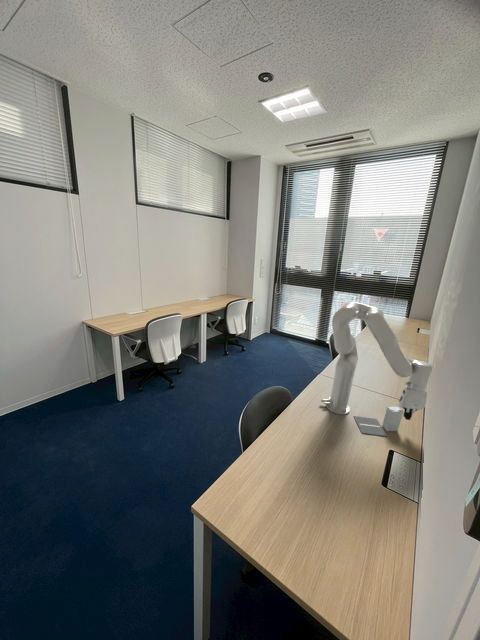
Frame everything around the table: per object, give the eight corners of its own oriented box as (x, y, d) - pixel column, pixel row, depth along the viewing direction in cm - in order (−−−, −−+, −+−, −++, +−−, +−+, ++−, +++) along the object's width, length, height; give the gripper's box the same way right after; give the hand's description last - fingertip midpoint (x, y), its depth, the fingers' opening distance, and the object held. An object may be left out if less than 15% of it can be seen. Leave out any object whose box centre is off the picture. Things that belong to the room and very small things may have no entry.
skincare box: (392, 425, 136) (398, 405, 132) (398, 431, 132) (404, 411, 128) (381, 425, 135) (386, 405, 132) (386, 432, 131) (392, 411, 127)
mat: (361, 433, 129) (361, 432, 128) (353, 416, 141) (353, 415, 141) (386, 436, 128) (387, 435, 127) (376, 419, 140) (376, 418, 140)
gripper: (404, 388, 122) (394, 421, 128) (437, 392, 121) (426, 425, 126) (396, 380, 129) (387, 411, 135) (428, 383, 128) (418, 415, 134)
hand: (406, 418), depth 131 cm, fingers closed
